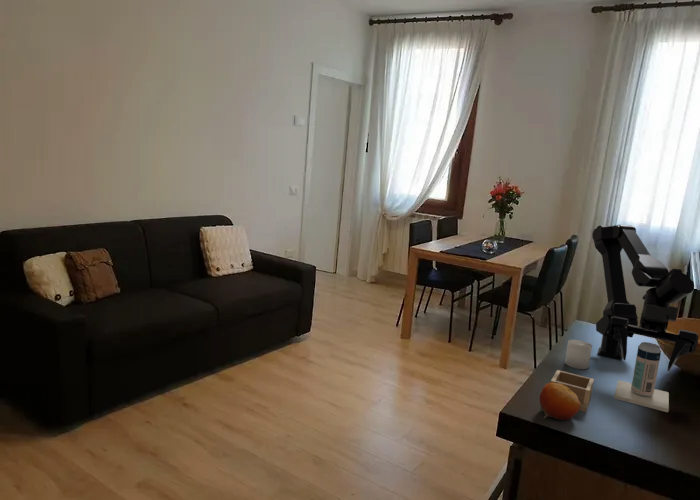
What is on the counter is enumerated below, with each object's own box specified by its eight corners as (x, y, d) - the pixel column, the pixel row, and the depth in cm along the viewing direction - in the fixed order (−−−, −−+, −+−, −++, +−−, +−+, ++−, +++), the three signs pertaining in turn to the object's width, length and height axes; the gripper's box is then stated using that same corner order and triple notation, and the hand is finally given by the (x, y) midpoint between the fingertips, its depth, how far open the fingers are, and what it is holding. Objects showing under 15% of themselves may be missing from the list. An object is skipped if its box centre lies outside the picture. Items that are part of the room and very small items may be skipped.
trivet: (617, 383, 135) (618, 380, 135) (668, 395, 130) (668, 392, 130) (613, 398, 126) (614, 395, 125) (668, 412, 120) (668, 409, 120)
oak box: (554, 389, 128) (557, 369, 127) (590, 399, 124) (594, 379, 123) (547, 401, 121) (551, 380, 120) (586, 412, 117) (589, 390, 116)
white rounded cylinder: (566, 358, 150) (569, 338, 149) (590, 364, 147) (593, 343, 146) (563, 365, 145) (566, 343, 144) (587, 370, 142) (590, 349, 141)
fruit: (524, 398, 118) (548, 370, 117) (553, 418, 119) (576, 391, 118) (536, 416, 110) (561, 386, 109) (566, 437, 111) (591, 408, 110)
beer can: (655, 394, 128) (664, 345, 126) (650, 399, 124) (659, 350, 122) (633, 387, 131) (642, 340, 129) (627, 392, 128) (636, 344, 125)
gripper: (616, 284, 133) (604, 338, 126) (705, 299, 124) (698, 359, 117) (614, 308, 141) (602, 360, 134) (697, 324, 132) (690, 381, 125)
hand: (646, 364), depth 127 cm, fingers open, 9 cm apart
